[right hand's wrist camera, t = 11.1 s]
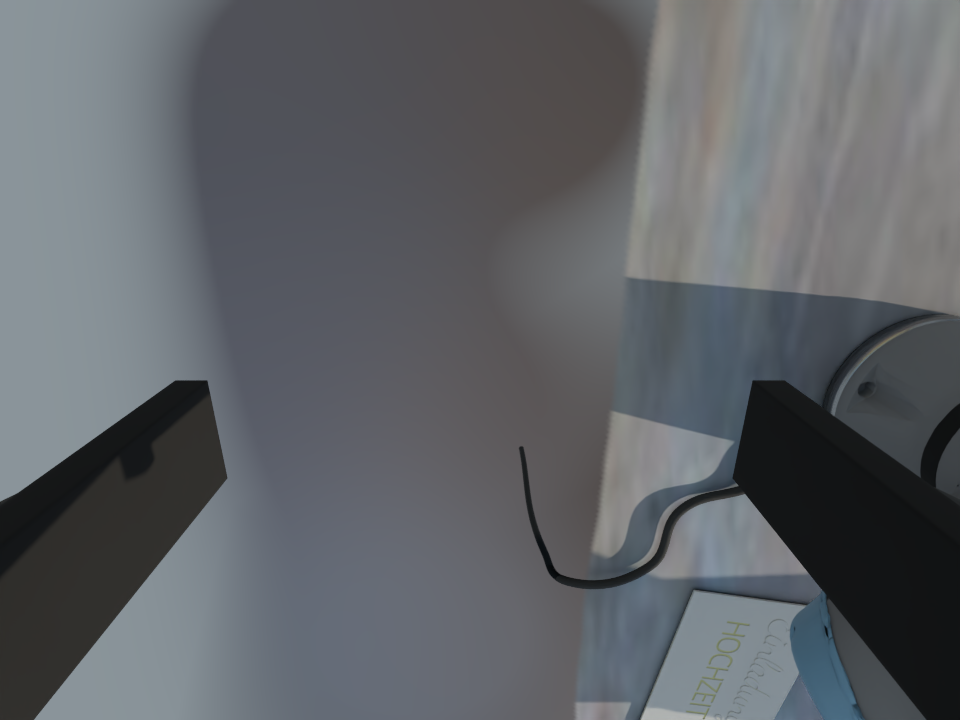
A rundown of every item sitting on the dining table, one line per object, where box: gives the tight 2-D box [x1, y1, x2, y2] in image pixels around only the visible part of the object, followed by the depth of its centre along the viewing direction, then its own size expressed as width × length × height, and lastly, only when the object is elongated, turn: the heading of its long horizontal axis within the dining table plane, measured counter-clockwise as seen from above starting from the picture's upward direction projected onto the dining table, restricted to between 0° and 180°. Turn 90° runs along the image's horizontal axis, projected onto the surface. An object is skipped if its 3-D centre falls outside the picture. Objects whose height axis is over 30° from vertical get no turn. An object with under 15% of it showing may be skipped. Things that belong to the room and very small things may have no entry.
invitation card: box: [640, 590, 807, 720], centre depth 57 cm, size 21×1×15 cm
